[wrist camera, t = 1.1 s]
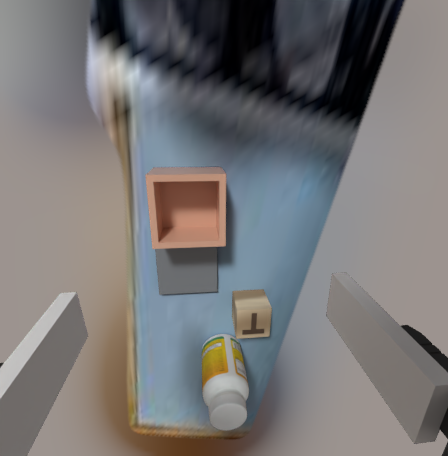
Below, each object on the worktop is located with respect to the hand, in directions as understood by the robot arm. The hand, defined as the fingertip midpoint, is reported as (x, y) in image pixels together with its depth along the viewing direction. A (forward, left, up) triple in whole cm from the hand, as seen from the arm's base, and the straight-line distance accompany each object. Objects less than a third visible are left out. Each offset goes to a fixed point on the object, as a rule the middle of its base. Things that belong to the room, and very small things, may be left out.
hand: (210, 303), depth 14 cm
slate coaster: (+7, -2, -17) cm, 18 cm away
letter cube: (+13, +6, -17) cm, 22 cm away
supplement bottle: (+20, +2, -17) cm, 26 cm away
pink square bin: (-1, -1, -17) cm, 17 cm away
